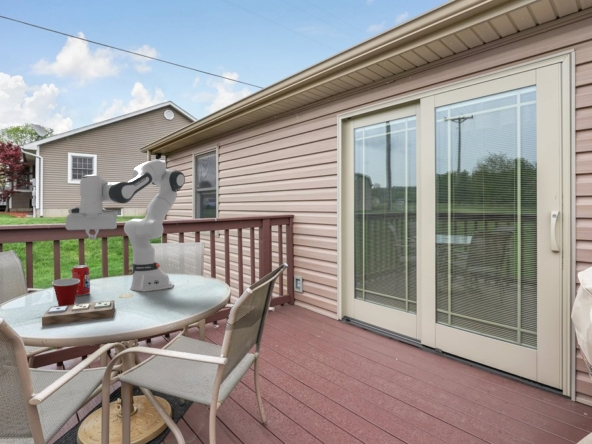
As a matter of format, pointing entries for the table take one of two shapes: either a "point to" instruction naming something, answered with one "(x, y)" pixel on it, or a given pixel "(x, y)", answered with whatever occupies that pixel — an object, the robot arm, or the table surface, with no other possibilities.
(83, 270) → the soda can
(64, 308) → the tile one dot
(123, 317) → the table surface
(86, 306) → the tile three dots
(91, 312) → the keypad board
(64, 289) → the plastic cup
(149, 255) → the robot arm
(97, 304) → the tile two dots
